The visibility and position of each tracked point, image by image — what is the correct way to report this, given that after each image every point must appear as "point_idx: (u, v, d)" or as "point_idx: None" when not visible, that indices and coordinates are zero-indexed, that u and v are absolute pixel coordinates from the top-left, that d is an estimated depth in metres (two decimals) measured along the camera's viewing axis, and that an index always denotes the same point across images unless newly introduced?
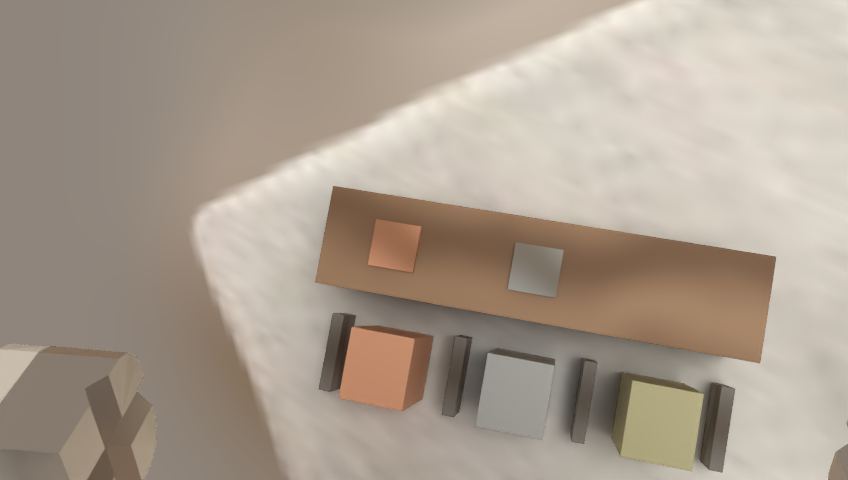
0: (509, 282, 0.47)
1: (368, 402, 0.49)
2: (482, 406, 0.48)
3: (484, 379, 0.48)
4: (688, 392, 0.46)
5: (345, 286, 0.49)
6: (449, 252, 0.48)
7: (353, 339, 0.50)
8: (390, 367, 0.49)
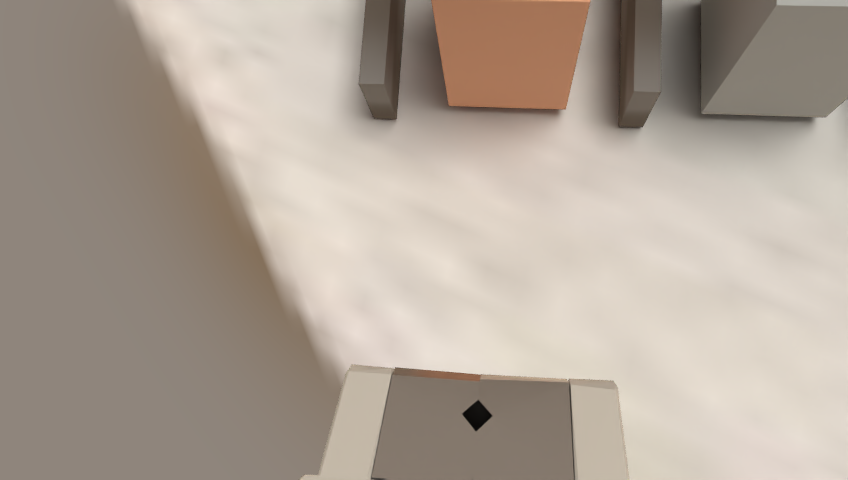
0: None
1: None
2: None
3: None
4: None
5: None
6: None
7: None
8: None
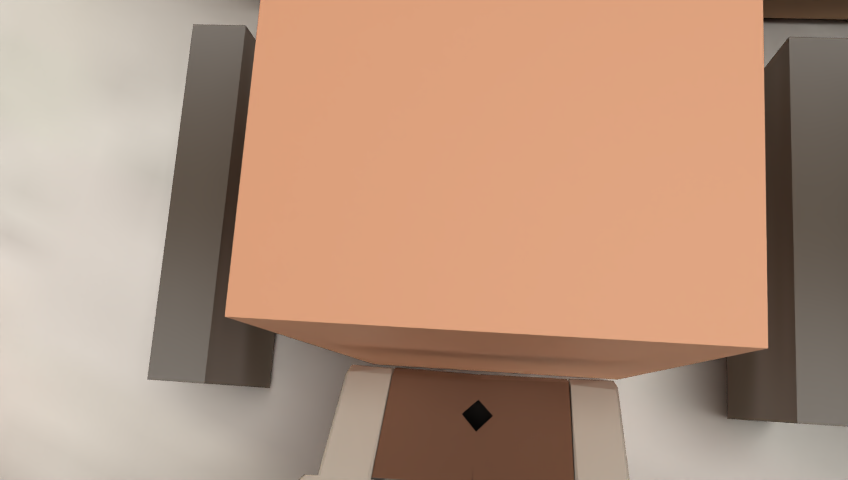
0: None
1: (473, 317, 0.06)
2: None
3: None
4: None
5: None
6: None
7: None
8: (614, 30, 0.06)
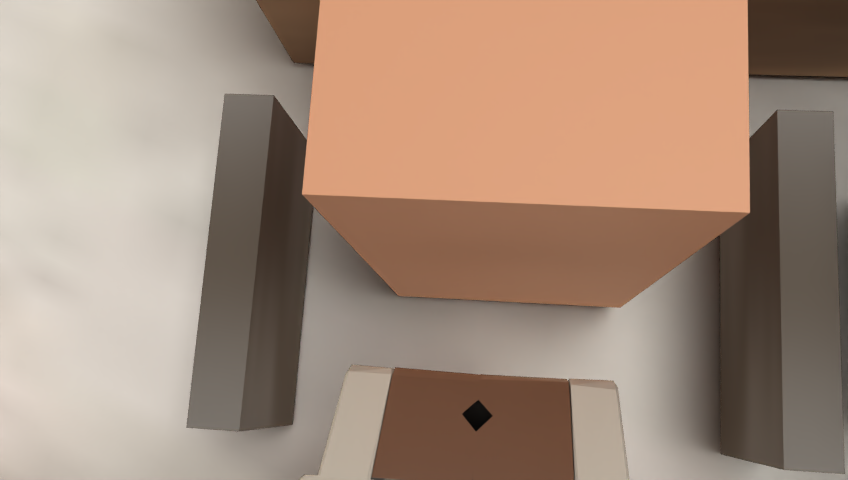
0: None
1: (508, 191, 0.07)
2: None
3: None
4: None
5: None
6: None
7: None
8: None
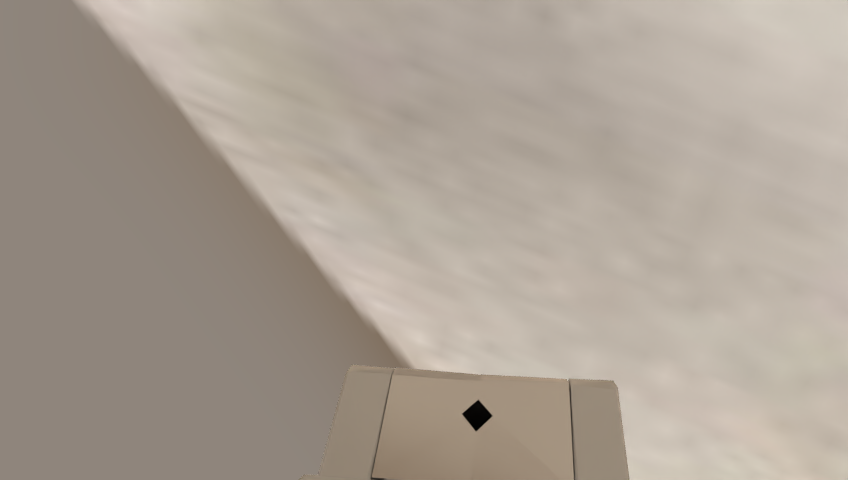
0: None
1: None
2: None
3: None
4: None
5: None
6: None
7: None
8: None
